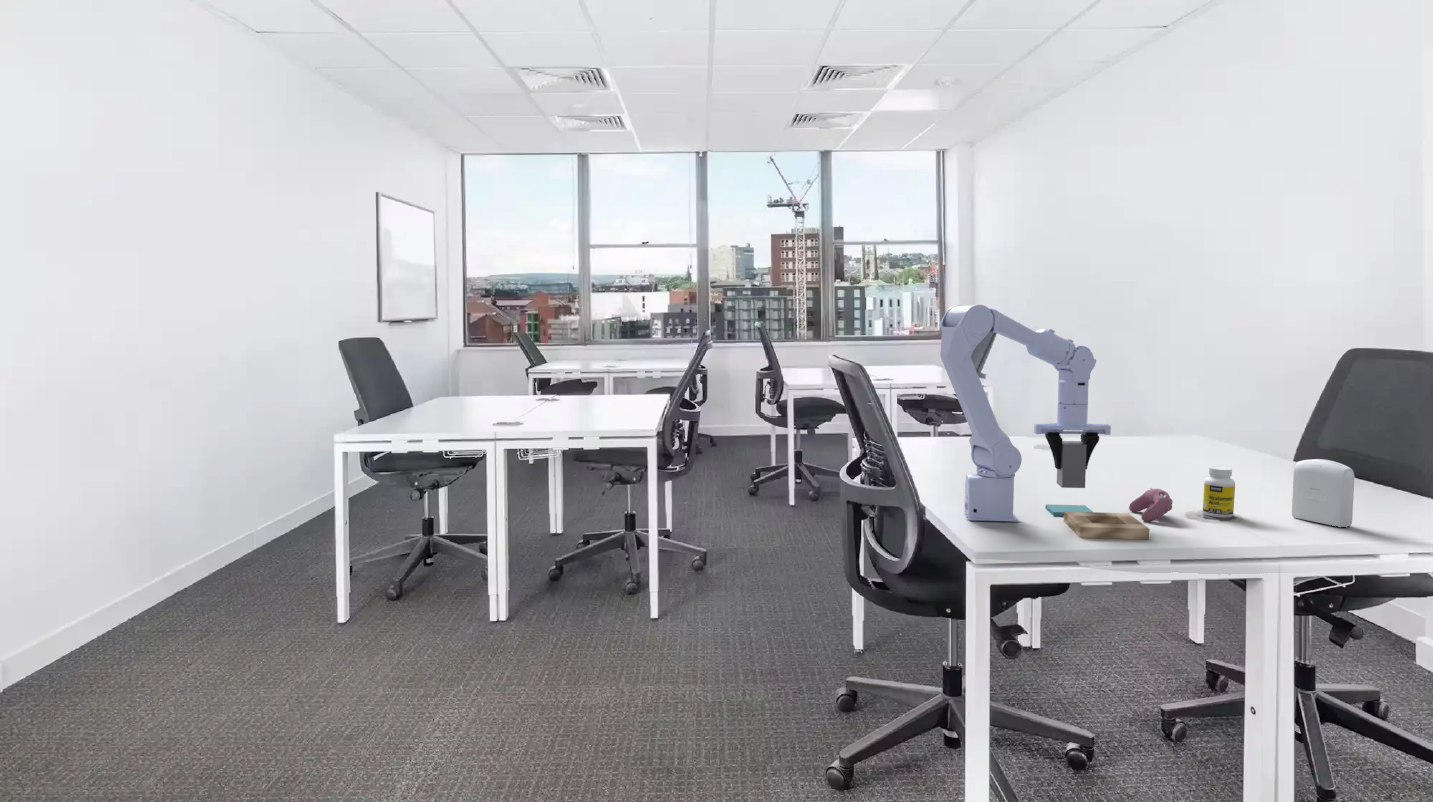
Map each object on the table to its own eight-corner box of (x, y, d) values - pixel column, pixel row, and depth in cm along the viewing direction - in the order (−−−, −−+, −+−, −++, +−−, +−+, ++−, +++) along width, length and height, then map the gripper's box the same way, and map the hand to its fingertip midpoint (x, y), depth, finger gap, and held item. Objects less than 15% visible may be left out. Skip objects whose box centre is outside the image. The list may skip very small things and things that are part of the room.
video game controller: (1162, 530, 163) (1181, 500, 162) (1140, 519, 164) (1159, 489, 163) (1146, 518, 173) (1164, 489, 172) (1125, 508, 173) (1143, 479, 172)
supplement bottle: (1204, 516, 167) (1207, 469, 166) (1200, 510, 172) (1202, 464, 171) (1236, 519, 165) (1238, 470, 164) (1230, 512, 170) (1233, 466, 169)
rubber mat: (1053, 515, 170) (1053, 511, 170) (1045, 508, 177) (1045, 504, 177) (1094, 516, 168) (1094, 513, 168) (1085, 508, 175) (1085, 505, 175)
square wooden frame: (1079, 537, 153) (1080, 526, 153) (1063, 521, 165) (1064, 511, 165) (1149, 539, 151) (1149, 528, 151) (1127, 523, 163) (1128, 513, 163)
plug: (1061, 487, 170) (1063, 444, 169) (1056, 483, 174) (1057, 440, 173) (1085, 488, 169) (1086, 444, 168) (1079, 483, 173) (1080, 441, 173)
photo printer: (1287, 517, 166) (1290, 456, 165) (1301, 515, 168) (1305, 455, 166) (1340, 529, 156) (1345, 465, 155) (1356, 527, 158) (1360, 463, 157)
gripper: (1040, 405, 167) (1038, 471, 169) (1116, 405, 165) (1113, 472, 166) (1032, 401, 174) (1031, 465, 176) (1105, 402, 172) (1103, 466, 173)
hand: (1070, 468), depth 172 cm, fingers closed on plug, 4 cm apart
